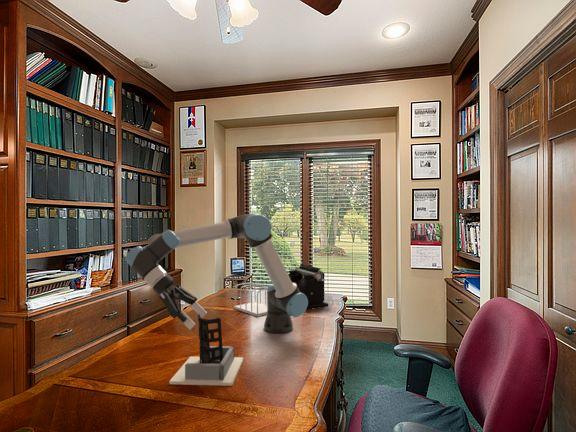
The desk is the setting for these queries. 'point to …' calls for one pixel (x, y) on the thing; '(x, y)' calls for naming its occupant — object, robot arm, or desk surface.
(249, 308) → the file sorter
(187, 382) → the bay
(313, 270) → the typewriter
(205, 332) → the holder
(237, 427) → the desk surface
